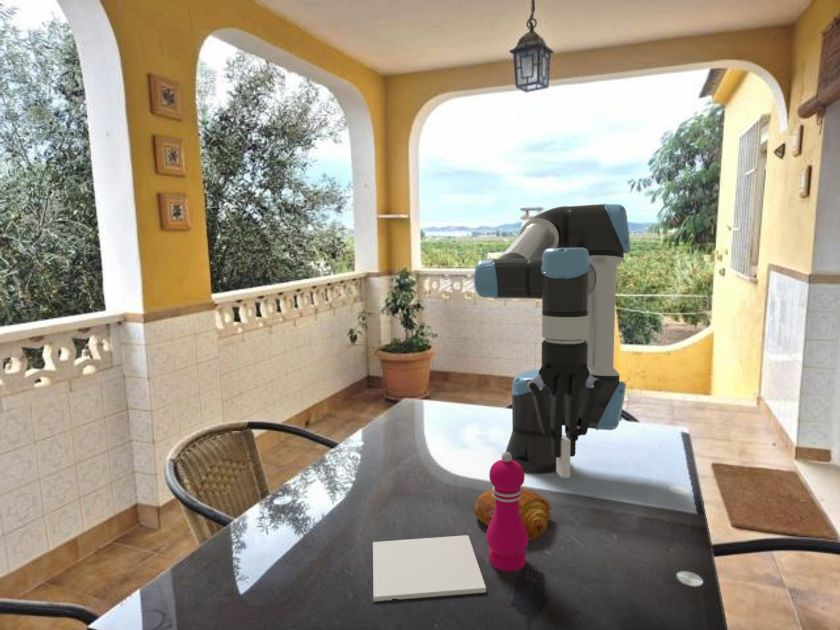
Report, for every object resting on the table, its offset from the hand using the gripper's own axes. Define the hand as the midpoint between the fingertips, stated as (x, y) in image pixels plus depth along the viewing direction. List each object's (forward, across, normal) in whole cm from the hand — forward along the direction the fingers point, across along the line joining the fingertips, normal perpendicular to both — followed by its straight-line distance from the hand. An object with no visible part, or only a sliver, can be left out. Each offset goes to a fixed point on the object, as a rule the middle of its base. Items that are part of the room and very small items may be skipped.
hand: (563, 474), depth 94 cm
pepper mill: (+16, +10, 0) cm, 19 cm away
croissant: (+16, +5, -14) cm, 22 cm away
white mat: (+16, +24, 0) cm, 29 cm away
